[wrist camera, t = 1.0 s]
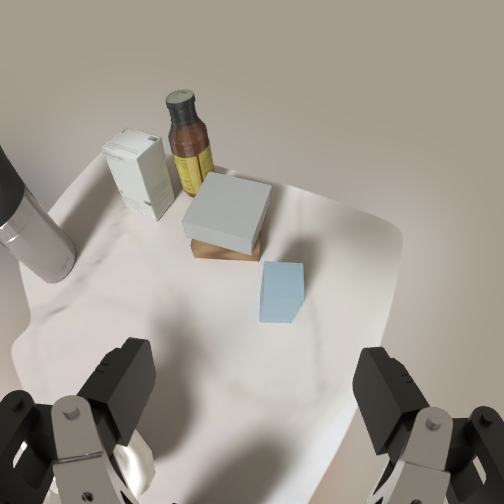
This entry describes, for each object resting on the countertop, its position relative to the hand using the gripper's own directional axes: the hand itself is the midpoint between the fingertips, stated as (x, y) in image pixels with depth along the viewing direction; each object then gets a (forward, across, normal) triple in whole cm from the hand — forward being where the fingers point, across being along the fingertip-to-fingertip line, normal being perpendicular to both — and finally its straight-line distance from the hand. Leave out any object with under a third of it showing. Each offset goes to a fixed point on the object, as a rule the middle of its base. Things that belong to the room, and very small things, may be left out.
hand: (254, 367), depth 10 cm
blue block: (+28, -3, +11) cm, 30 cm away
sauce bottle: (+43, +11, -4) cm, 45 cm away
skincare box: (+40, +19, -2) cm, 45 cm away
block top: (+34, +4, 0) cm, 34 cm away
